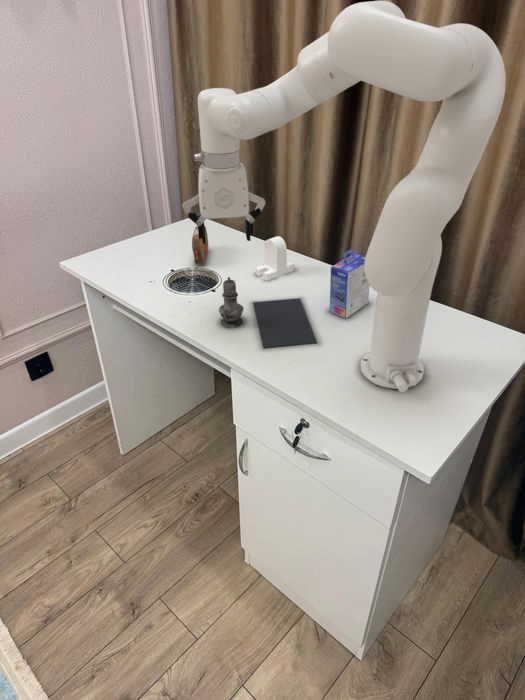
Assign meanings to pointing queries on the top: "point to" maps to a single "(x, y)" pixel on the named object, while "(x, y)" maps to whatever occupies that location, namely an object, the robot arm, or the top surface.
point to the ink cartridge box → (348, 285)
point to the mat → (283, 323)
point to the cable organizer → (275, 259)
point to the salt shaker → (230, 306)
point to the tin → (199, 247)
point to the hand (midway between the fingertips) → (226, 239)
